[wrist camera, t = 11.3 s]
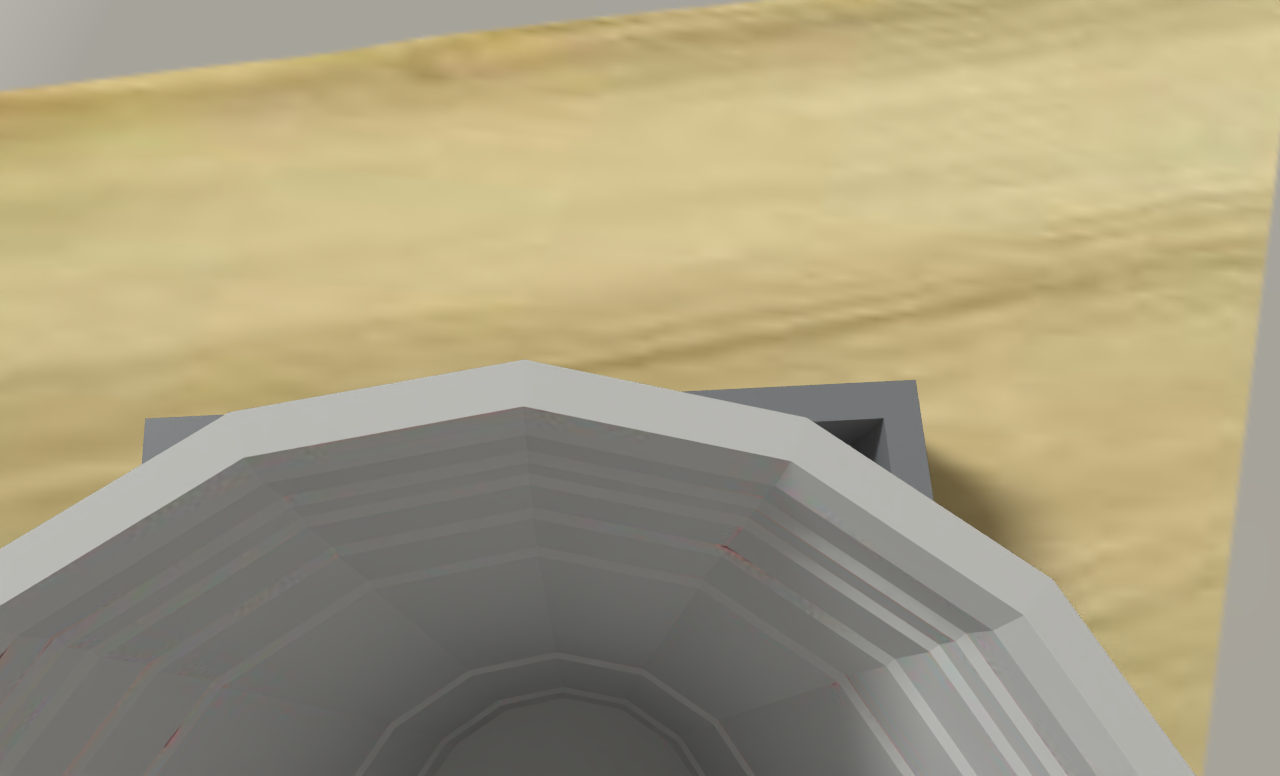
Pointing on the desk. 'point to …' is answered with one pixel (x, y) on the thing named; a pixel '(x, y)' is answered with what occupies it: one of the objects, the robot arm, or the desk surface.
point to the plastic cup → (541, 603)
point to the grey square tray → (851, 412)
